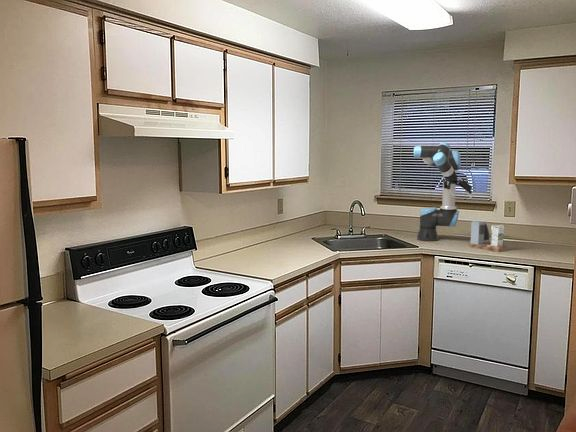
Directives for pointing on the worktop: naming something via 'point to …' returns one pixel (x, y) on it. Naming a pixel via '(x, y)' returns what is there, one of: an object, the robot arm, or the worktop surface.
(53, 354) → the worktop surface
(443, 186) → the robot arm
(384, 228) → the worktop surface
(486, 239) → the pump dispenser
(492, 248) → the rail
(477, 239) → the blue-grey tall block
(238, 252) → the worktop surface
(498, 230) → the syrup box
